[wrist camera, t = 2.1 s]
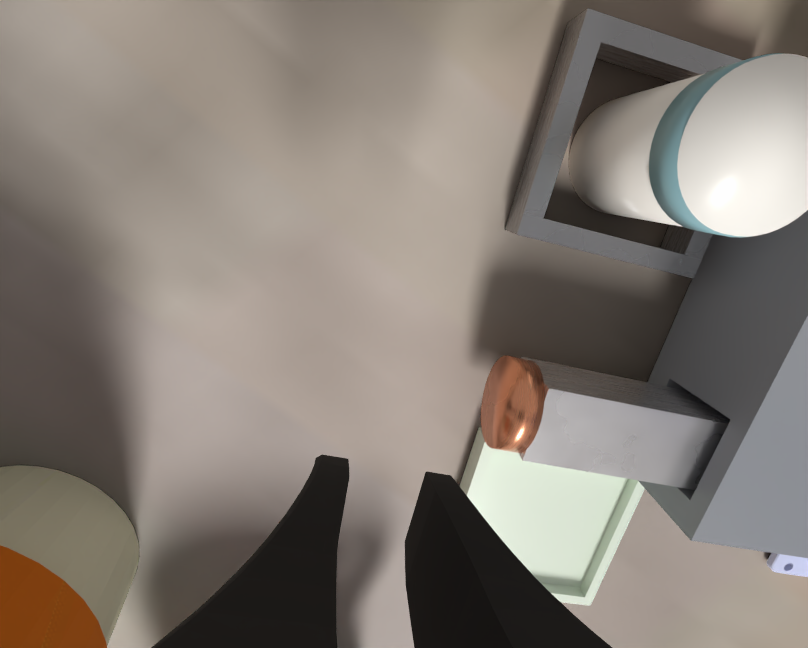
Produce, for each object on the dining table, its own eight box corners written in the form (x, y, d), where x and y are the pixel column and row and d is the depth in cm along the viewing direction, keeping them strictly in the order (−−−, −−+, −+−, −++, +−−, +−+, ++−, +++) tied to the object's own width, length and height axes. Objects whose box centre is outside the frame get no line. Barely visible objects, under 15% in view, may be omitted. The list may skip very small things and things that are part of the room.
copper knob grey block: (689, 382, 21) (753, 424, 17) (657, 451, 22) (712, 504, 18) (499, 342, 19) (528, 379, 16) (474, 418, 20) (497, 468, 17)
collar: (747, 81, 18) (782, 73, 17) (668, 270, 20) (693, 278, 19) (568, 22, 17) (587, 8, 15) (504, 229, 19) (517, 234, 18)
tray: (639, 455, 23) (653, 470, 22) (580, 586, 26) (590, 605, 24) (479, 427, 22) (485, 441, 21) (432, 567, 24) (436, 586, 23)
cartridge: (695, 113, 18) (882, 80, 12) (650, 226, 20) (797, 255, 13) (591, 80, 18) (727, 27, 11) (551, 200, 19) (653, 216, 12)
